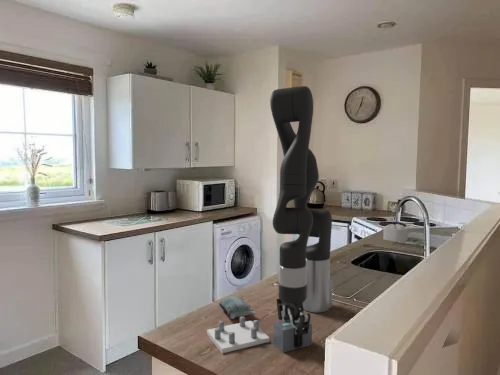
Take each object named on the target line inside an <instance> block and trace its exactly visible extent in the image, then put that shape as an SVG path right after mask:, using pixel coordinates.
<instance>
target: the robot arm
mask: <svg viewBox="0 0 500 375" xmlns="http://www.w3.org/2000/svg"><path fill="white" fill-rule="evenodd" d="M269 101H270V102H269V103H270V105H269V106H270V111H271V115H272V119H273V122H274V125H275V128H276V132H277V135H278V139H279V141H280V144H281V148H282V153H283V159H282V161H281V165H280V171H279V193H278V194H279V195H278V201H277V203H276V208H275V211H274V213H273V217H272V227H273V229H274V231H275V233H277V234H279V235H299V236H298V237H297V238H296V239H294V240H290V241H286V242H283V243H281V244H280V246H279V266H278V267H279V268H278V298H276V307H277V318H278V320H279V321H286V320H289V319H290V322H291V325H292V326H293V328H294V347H295V348H298V349H300V348H299V347H302V344H303V341H302V340H303V335H304V334H308V329H309V323H311V314H310V312H311V313H324V312H327V311H329V309H332V308H333V280H332V279H331V277H330V276H331V249H332V248H331V246H332V244H331V243H332V242H331V241H332V240H331V239H332V230H333V229H332V228H333V224H332V223H333V219H332V218H333V217H332V212H330V210H327V209H320V208H319V209H318V208H317V209H316V208H309V207H308V201H309V198H310V196H311V194H312V193H313V191H314V190H315V188H316V186H317V184H318V183H319V182H318V181H319V178H320V176H319V167H318V164H317V159H316V156H315V154H314V152H313V151H312V150H311V149H310V141H311V140H310V139H311V134H312V132H311V131H312V123H313V116H314V97H313V93H312V91H311V89H310V88H309V86H306V85H305V86H304V85H303V86H302V85H301V86H299V85H298V86H293V87H292V86H291V87H285V88H277V89H275V90H273V91H272V92H271V93H270V97H269ZM295 122H296V123H297V122H298V128H297V132H295V130H294V129H293V127H292V124H291V123H295ZM292 201H293V204H294V207H287V206H288V204H289V202H292ZM309 238H318V242H317V243H314V244H311V245H308V242H309ZM305 311H307V312H309V313H306V312H305ZM298 319H299V321H297V322H294V320H298ZM297 325H299V326H298V330H297ZM302 348H303V347H302Z"/></svg>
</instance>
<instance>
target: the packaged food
mask: <svg viewBox="0 0 500 375" xmlns="http://www.w3.org/2000/svg"><path fill="white" fill-rule="evenodd" d="M218 304H219V306H220V308H221V309H222V310H223V311H224V312H225V313H226V314H227V316H228V317H229V319H232V320H234V319H240V317H242V316H243V317H246V316H249V315H256V313H257V312H256V310H255V309H254V308H252V306H251V305H250V304H248V303H247V302H246V301H245V300H244V299H243V297H239V296H235V295H233V296H230V297H227V298H223V299H222V300H221V301H219V302H218Z"/></svg>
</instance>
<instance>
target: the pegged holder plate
mask: <svg viewBox="0 0 500 375" xmlns="http://www.w3.org/2000/svg"><path fill="white" fill-rule="evenodd" d="M206 335H207V336H208V338H210V340H211V342H212V343H213V344H214V345H215V346H216V347H217V350H219V352H220V353H221V354H225V353H228V352H232V351H237V350H241V349H245V348H249V347H253V346H258V345H262V344H265V343H270V336H268V335H267V334H266V333H265V332H264V331H263V330H262V329H261V328H260V320H258V319H255V320H253V321H252V320H248V321H247V320H246V316H242V317H239V323H232V324H228V325H225V320H219V321H218V327H214V328H209V329H206Z"/></svg>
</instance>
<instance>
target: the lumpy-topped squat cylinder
mask: <svg viewBox="0 0 500 375" xmlns="http://www.w3.org/2000/svg"><path fill="white" fill-rule="evenodd" d="M408 231H409V229H408V228H407V227H405V226H404V225H402V224H399V223H396V224H393V223H389V224H387V225H386V226H383V237H382V239H383V240H384V241H385V240H386V241H390V242H399V241H404V242H408V236H409V235H408V234H409V232H408Z"/></svg>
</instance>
